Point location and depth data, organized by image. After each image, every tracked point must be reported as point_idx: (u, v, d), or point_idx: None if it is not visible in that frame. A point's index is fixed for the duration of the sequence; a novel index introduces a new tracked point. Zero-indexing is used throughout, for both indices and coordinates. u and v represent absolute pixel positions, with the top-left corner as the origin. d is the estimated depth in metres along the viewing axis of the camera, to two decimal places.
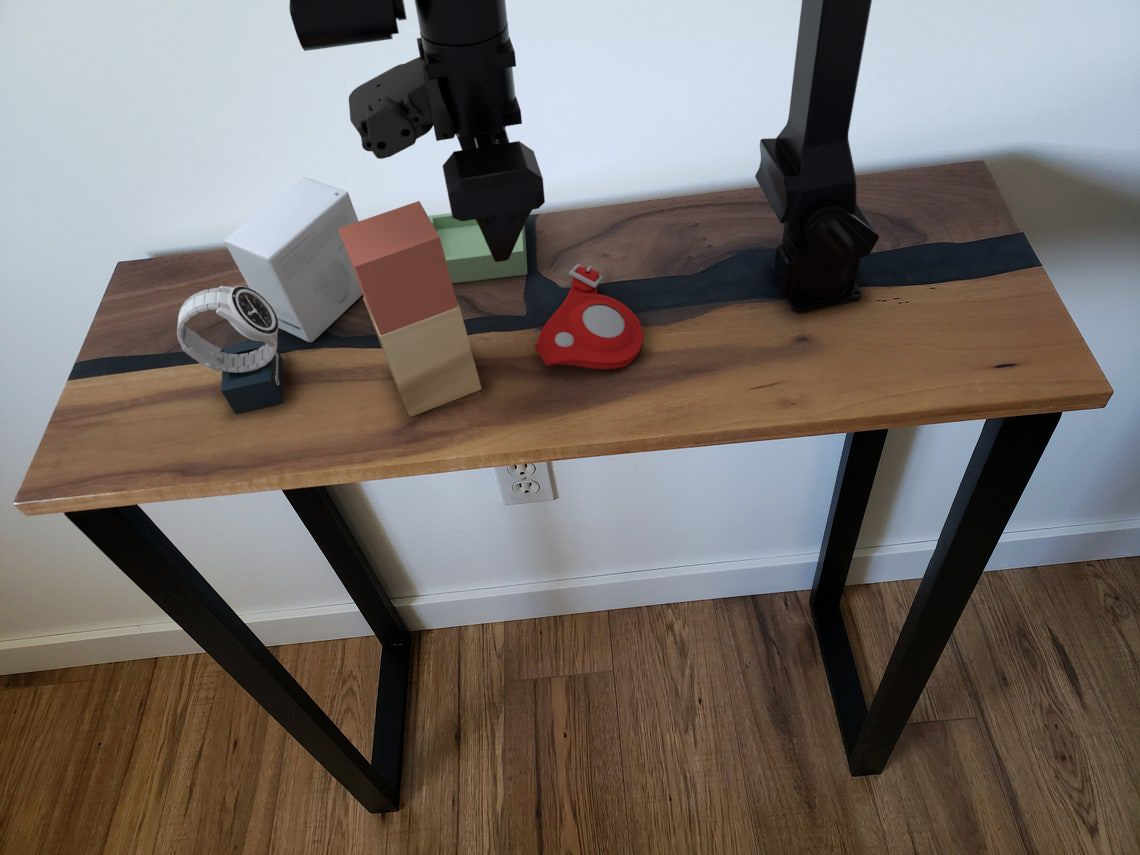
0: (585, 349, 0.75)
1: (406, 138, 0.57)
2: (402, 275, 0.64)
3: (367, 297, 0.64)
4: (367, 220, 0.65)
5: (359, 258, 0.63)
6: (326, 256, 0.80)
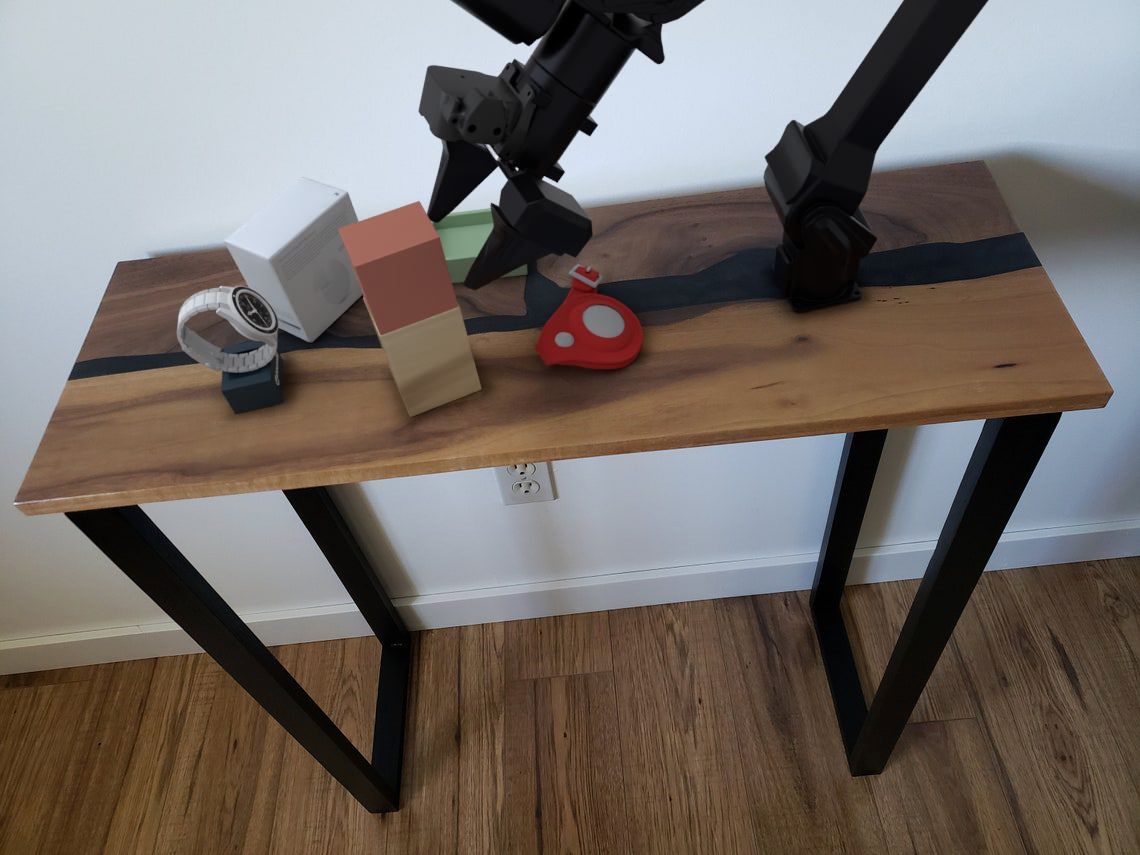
0: (585, 349, 0.75)
1: (493, 136, 0.57)
2: (402, 275, 0.64)
3: (367, 297, 0.64)
4: (367, 220, 0.65)
5: (359, 258, 0.63)
6: (326, 256, 0.80)
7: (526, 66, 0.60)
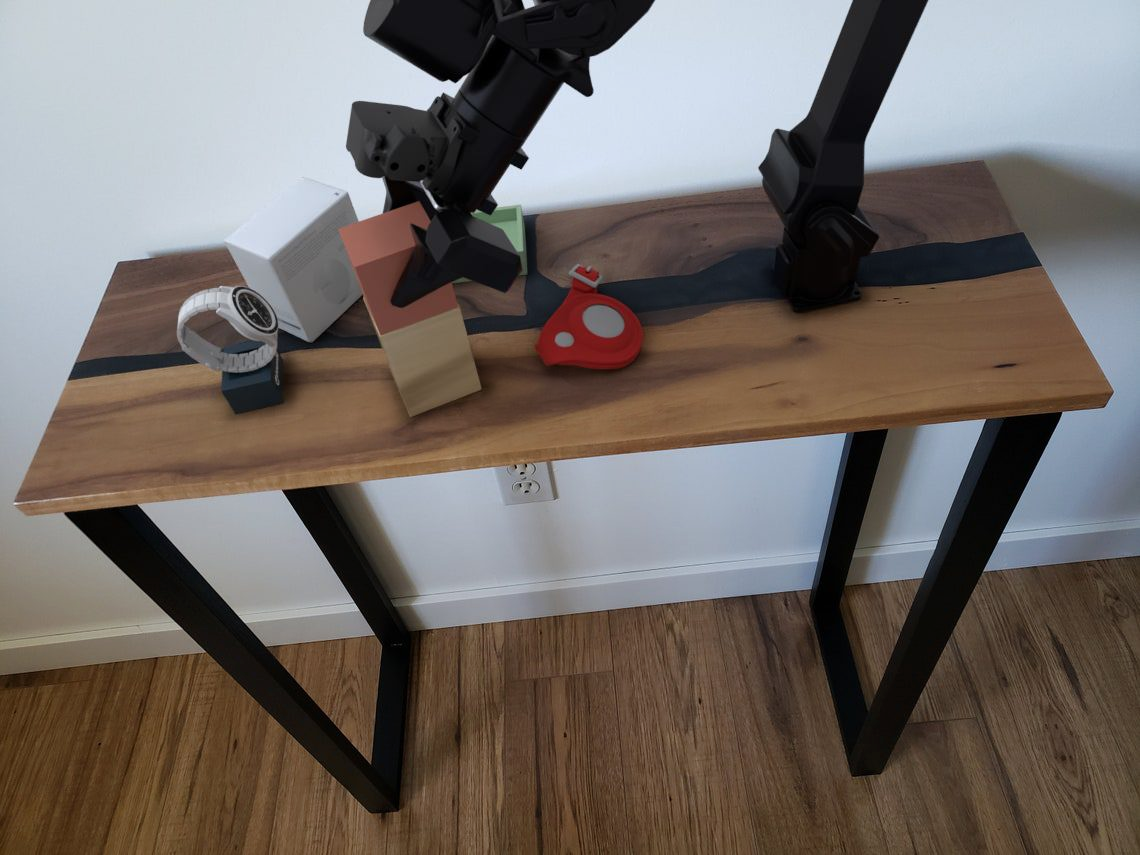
0: (585, 349, 0.75)
1: (417, 173, 0.57)
2: None
3: (367, 297, 0.64)
4: (367, 220, 0.65)
5: (359, 259, 0.63)
6: (326, 256, 0.80)
7: (454, 100, 0.60)
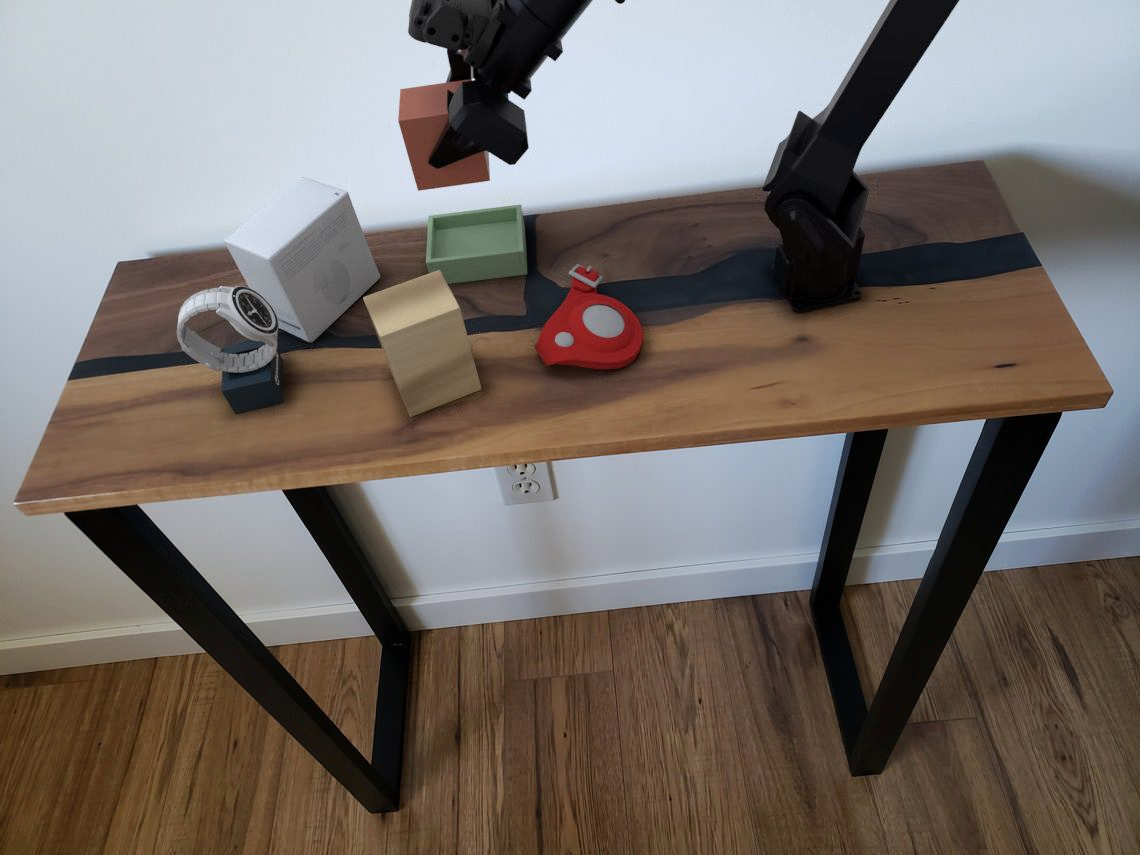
0: (585, 349, 0.75)
1: (452, 42, 0.65)
2: None
3: (408, 152, 0.74)
4: (426, 86, 0.75)
5: (404, 115, 0.72)
6: (326, 256, 0.80)
7: None
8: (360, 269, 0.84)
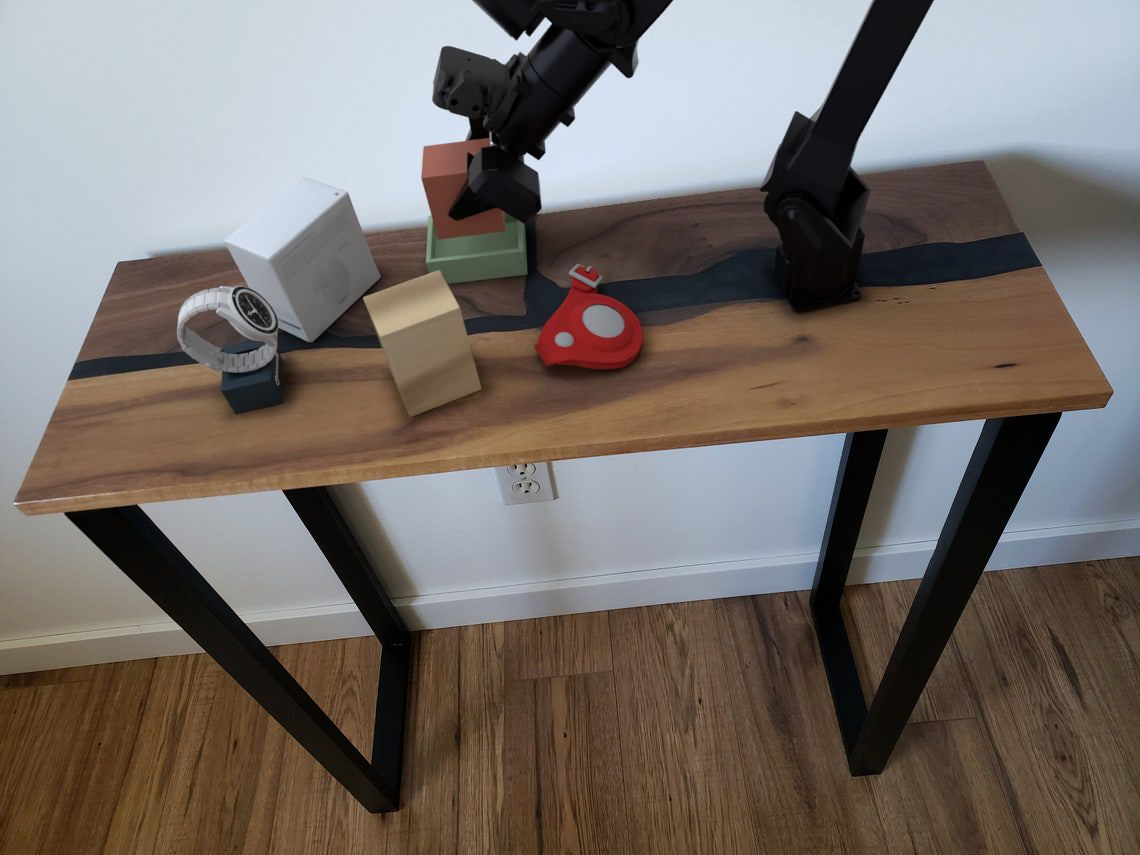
0: (585, 349, 0.75)
1: (473, 111, 0.71)
2: None
3: (429, 205, 0.80)
4: (447, 144, 0.80)
5: (427, 172, 0.78)
6: (326, 256, 0.80)
7: (523, 59, 0.73)
8: (360, 269, 0.84)
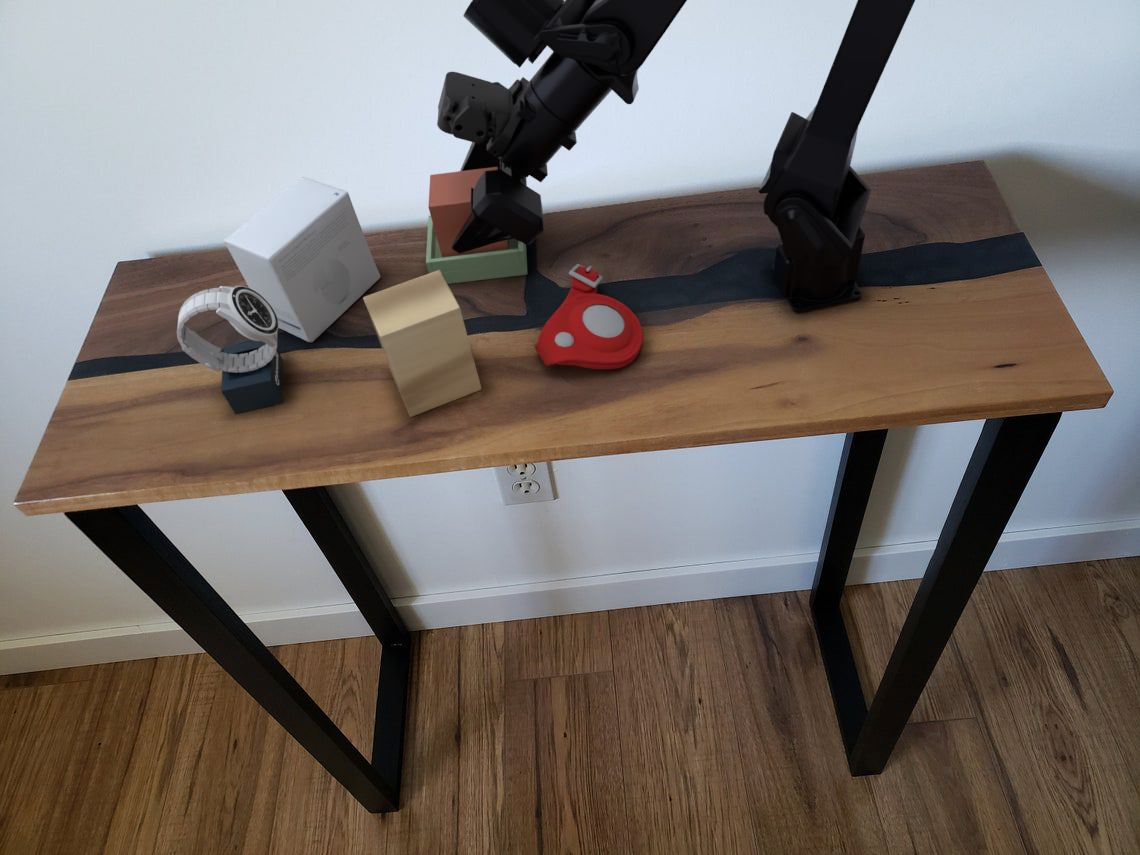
0: (585, 349, 0.75)
1: (477, 136, 0.73)
2: (465, 221, 0.81)
3: (436, 232, 0.82)
4: (453, 173, 0.83)
5: (434, 201, 0.80)
6: (326, 256, 0.80)
7: (526, 85, 0.75)
8: (360, 269, 0.84)
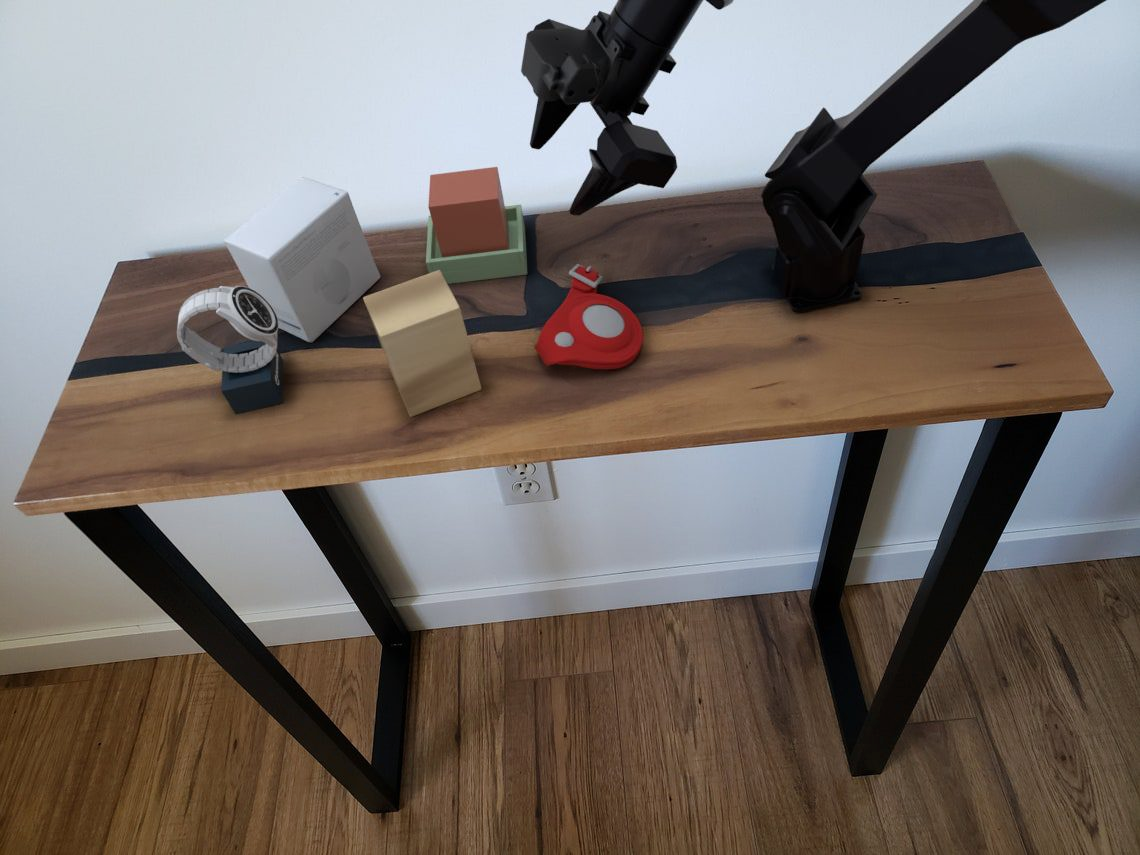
0: (585, 349, 0.75)
1: (588, 95, 0.67)
2: (465, 221, 0.81)
3: (436, 232, 0.82)
4: (453, 173, 0.83)
5: (434, 201, 0.80)
6: (326, 256, 0.80)
7: (611, 20, 0.68)
8: (360, 269, 0.84)
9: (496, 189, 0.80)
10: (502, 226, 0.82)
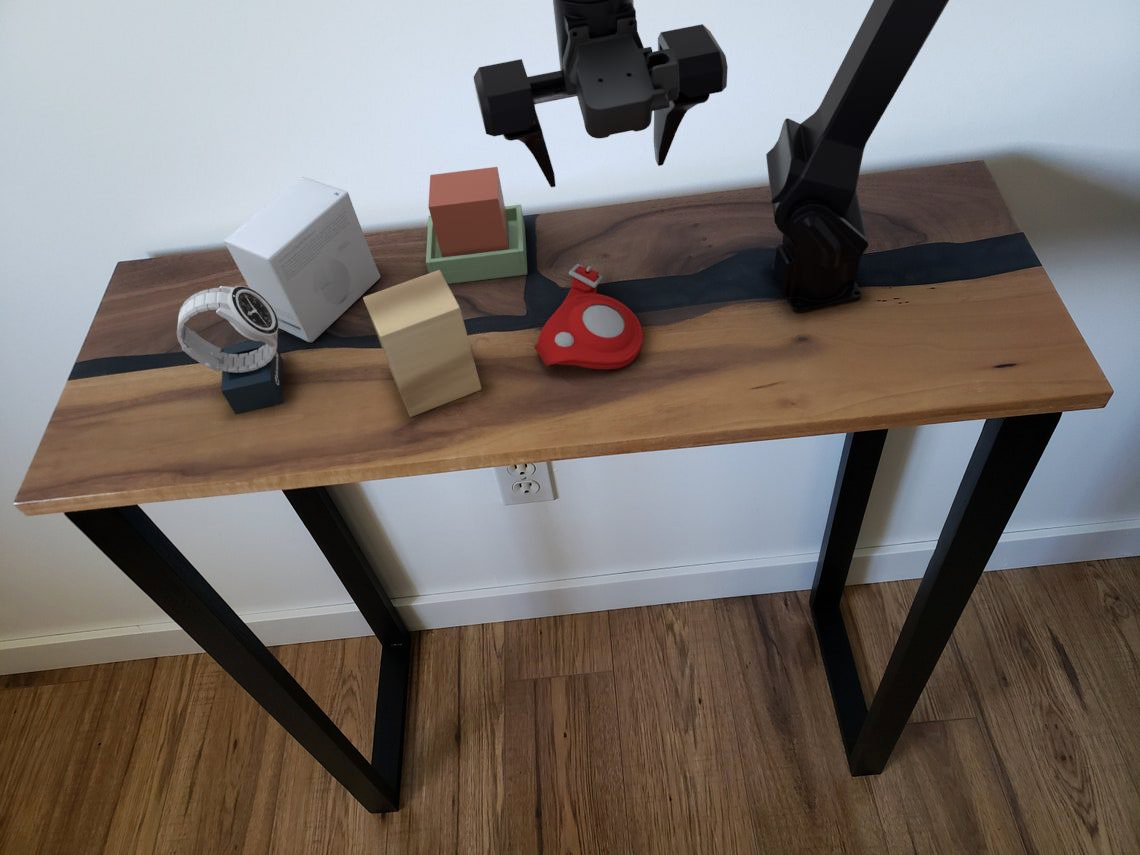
0: (585, 349, 0.75)
1: None
2: (465, 221, 0.81)
3: (436, 232, 0.82)
4: (453, 173, 0.83)
5: (434, 201, 0.80)
6: (326, 256, 0.80)
7: (591, 14, 0.59)
8: (360, 269, 0.84)
9: (496, 189, 0.80)
10: (502, 226, 0.82)
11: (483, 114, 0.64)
